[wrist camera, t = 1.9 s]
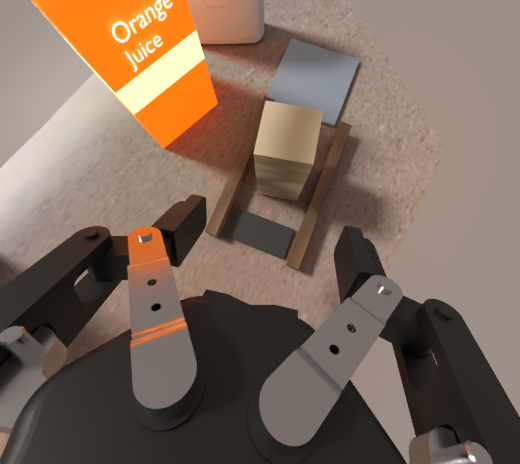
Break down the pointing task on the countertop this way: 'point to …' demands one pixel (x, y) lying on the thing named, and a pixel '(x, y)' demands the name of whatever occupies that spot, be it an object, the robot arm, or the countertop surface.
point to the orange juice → (141, 57)
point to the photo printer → (228, 20)
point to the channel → (315, 202)
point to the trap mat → (259, 233)
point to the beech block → (285, 148)
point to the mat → (313, 79)
